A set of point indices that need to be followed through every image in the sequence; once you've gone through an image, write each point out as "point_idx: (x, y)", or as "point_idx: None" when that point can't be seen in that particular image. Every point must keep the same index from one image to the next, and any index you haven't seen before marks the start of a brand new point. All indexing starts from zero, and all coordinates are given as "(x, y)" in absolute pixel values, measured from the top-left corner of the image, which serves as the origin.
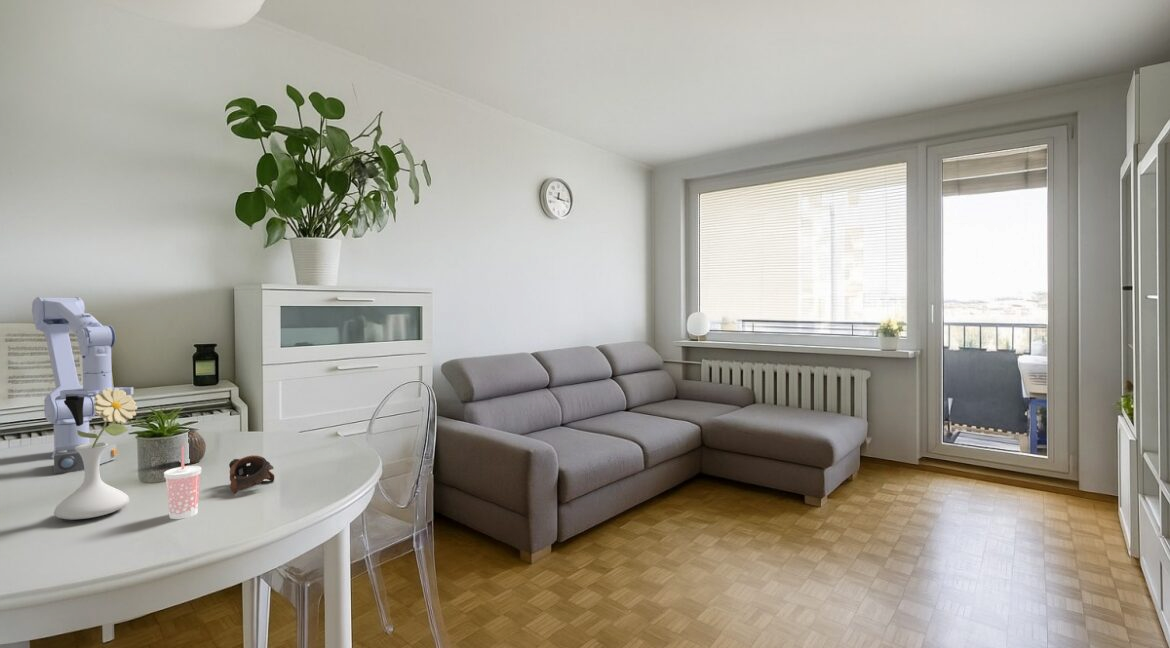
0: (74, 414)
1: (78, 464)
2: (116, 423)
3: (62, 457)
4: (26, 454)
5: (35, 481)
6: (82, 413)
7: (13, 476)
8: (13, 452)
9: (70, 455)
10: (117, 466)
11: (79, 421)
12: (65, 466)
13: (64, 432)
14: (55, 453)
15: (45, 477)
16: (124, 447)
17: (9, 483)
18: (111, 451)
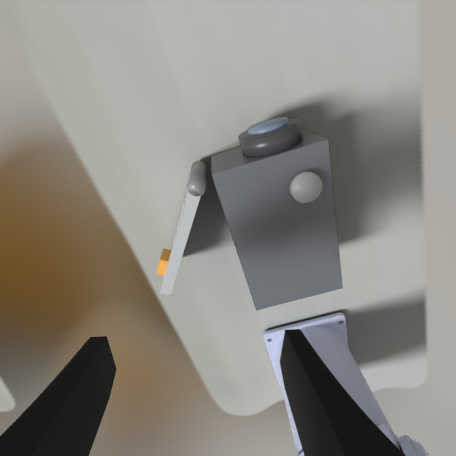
0: (342, 401)
1: (236, 153)
2: (90, 337)
3: (291, 129)
4: (397, 363)
5: (339, 21)
6: (301, 439)
7: (412, 148)
8: (421, 381)
9: (266, 151)
10: (120, 161)
11: (293, 353)
12: (270, 119)
13: (348, 392)
14: (329, 186)
15: (317, 82)
16: (205, 368)
17: (419, 31)
18: (168, 258)
